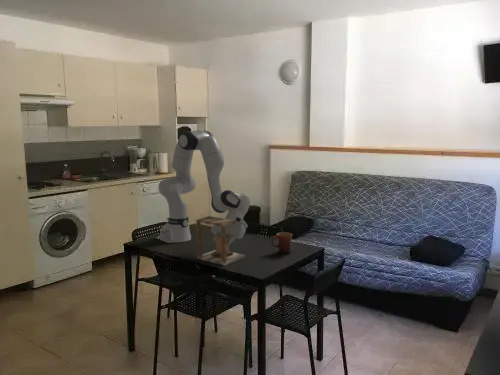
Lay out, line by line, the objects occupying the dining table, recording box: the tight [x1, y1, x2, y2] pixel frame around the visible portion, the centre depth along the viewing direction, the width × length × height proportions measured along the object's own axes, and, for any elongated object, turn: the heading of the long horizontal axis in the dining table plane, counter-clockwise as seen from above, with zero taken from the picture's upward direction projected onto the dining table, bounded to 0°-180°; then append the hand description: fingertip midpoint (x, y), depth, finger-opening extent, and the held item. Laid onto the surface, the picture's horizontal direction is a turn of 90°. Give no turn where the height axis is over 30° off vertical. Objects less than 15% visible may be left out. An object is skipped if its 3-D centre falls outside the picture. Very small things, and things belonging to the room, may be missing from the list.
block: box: [215, 235, 230, 255], centre depth 226 cm, size 5×5×10 cm
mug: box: [270, 231, 293, 255], centre depth 233 cm, size 12×9×10 cm
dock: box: [195, 215, 246, 266], centre depth 225 cm, size 19×16×21 cm
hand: (221, 242), depth 225 cm, fingers open, 8 cm apart
